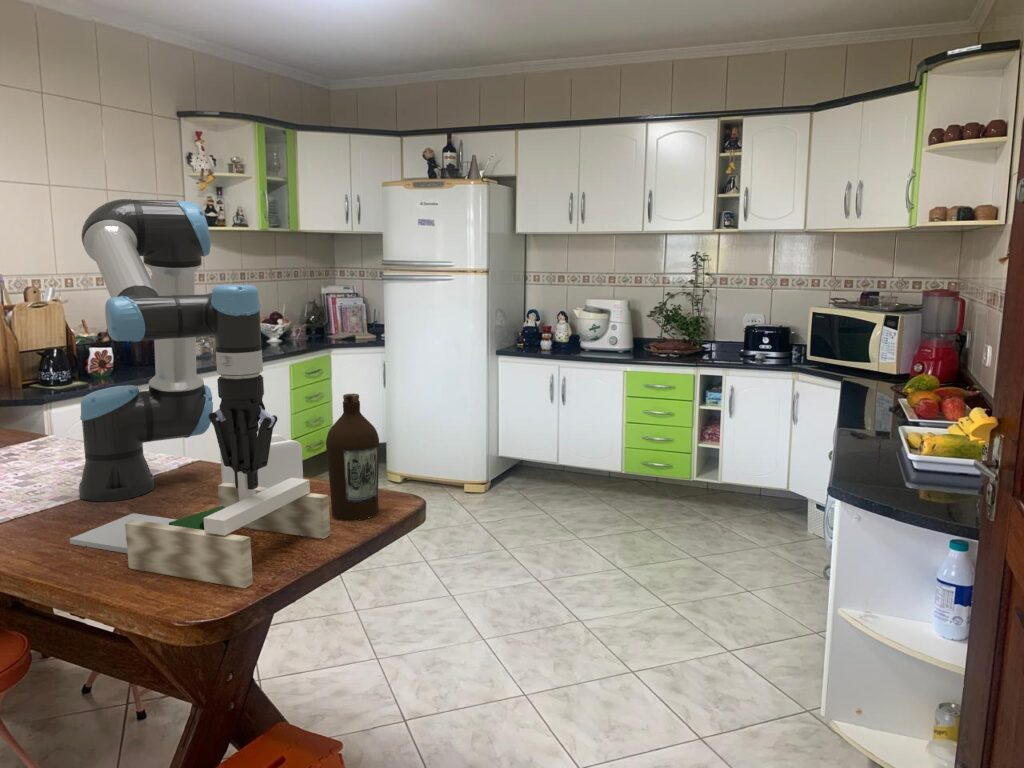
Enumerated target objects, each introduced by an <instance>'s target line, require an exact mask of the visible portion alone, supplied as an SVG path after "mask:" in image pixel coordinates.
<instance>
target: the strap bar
mask: <svg viewBox="0 0 1024 768" xmlns="http://www.w3.org/2000/svg"><path fill="white" fill-rule="evenodd" d="M310 487H311V486H310V479H305V478H303V479H298V478H290V479H287V480H285V481H283V482H281V483H279V484H276V485H274V486H272V487H270V488H268V489H266V490H263V491H261V492H259V493H257V494H255V495H252V496H250V497H248V498H246V499H244V500H242V501H239V502H237V503H235V504H233V505H231V506H228V507H226V508H224V509H222V510H220V511H218V512H215V513H213V514H211V515H209V516H207V517H204V532H205V533H211V534H218V535H224V536H225V535H227V534H232V532H235V531H237V530H239V529H240V528H243V527H242V526H244V525H246V524H248V523H250V522H252V521H254V520H256V519H258V518H260V517H262V516H264V515H266V514H268V513H270V512H272V511H274V510H276V509H278V508H280V507H282V506H284V505H286V504H288V503H290V502H292V501H294V500H296V499H298V498H300V497H302V496H304V495H306V494H308V493H311V492H310V491H311V489H310Z"/></svg>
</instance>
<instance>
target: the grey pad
mask: <svg viewBox="0 0 1024 768" xmlns="http://www.w3.org/2000/svg"><path fill="white" fill-rule="evenodd" d="M133 520H139V521H146V522H152V523H159V524H166V525H169V522H172V521H175V520H177V519H175V518H167V517H162V516H155V515H149V514H148V515H147V514H140V513H134V512H133V513H130V514H128V515H125V516H123V517H120V518H118V519H115V520H113V521H110V522H108V523H105V524H103V525H100V526H99V527H98V526H97V527H96V528H93V529H91V530H87V531H86V532H83V533H80V534H77V535H75V536H73V537H70V538H69V544H70V545H76V546H80V547H86V546H87V547H86V548H92V549H97V550H98V549H99V550H104V551H105V550H106V551H110V552H116V553H122V554H128V553H127V541H126V530H125V523H128V522H130V521H133Z"/></svg>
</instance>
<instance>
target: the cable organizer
mask: <svg viewBox="0 0 1024 768" xmlns="http://www.w3.org/2000/svg"><path fill="white" fill-rule="evenodd" d="M302 448H303V447H302V444H301V443H300V442H298V441H296V440H294V439H288V440H287V439H286V438H285V437H284V436H282V435H280V434H277V433H272V438H271V444H270V451H269V457H268V463H267V466H265V467H263V468H261V469H258V487H265V488H270V487H272V486H274V485H276V484H279V483H281V482H283V481H285V480H287V479H290V478H298V479H304V471H303V468H304V467H303V449H302ZM219 452H220V451H219ZM219 455H220V471H221V472H220V473H221V484H222V483H232V484H235V474H234V470H233V469H232V468H231V467H229V466H228V467H226V466H225V465H224V463H223V459H222V455H221V452H220V454H219Z"/></svg>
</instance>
